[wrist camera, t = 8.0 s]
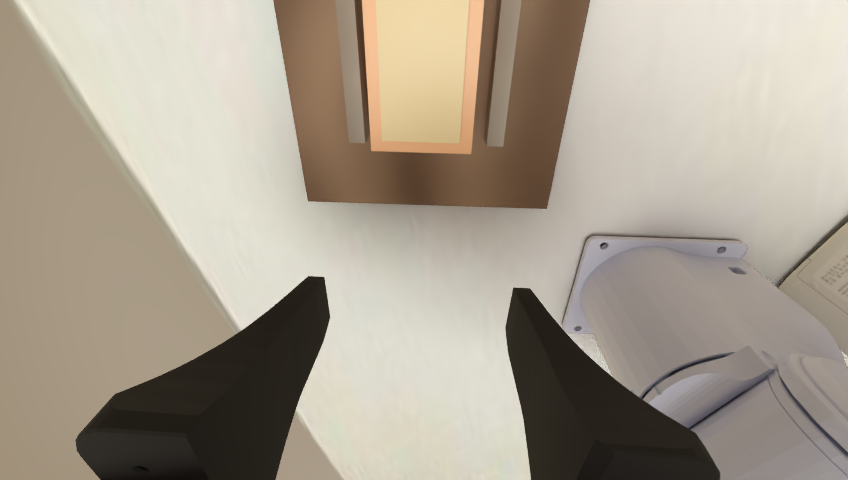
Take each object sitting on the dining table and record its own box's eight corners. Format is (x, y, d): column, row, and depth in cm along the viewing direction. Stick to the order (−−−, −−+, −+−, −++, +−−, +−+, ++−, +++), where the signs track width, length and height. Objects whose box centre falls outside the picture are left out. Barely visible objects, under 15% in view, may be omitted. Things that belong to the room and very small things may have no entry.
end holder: (622, -194, 13) (653, -231, 11) (543, 202, 22) (553, 221, 20) (249, -190, 14) (216, -225, 12) (312, 195, 22) (299, 212, 20)
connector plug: (475, -20, 15) (488, -36, 11) (465, 123, 19) (471, 156, 14) (383, -21, 16) (357, -38, 11) (388, 121, 19) (370, 153, 14)
